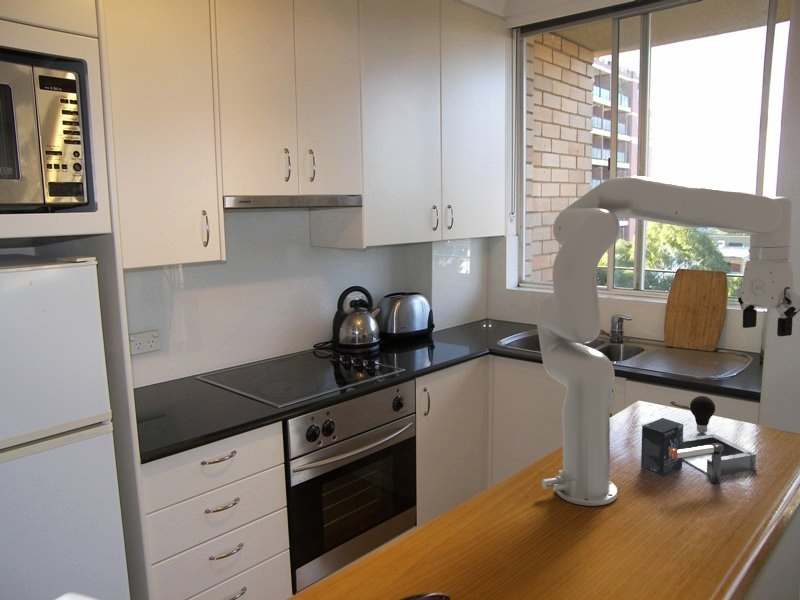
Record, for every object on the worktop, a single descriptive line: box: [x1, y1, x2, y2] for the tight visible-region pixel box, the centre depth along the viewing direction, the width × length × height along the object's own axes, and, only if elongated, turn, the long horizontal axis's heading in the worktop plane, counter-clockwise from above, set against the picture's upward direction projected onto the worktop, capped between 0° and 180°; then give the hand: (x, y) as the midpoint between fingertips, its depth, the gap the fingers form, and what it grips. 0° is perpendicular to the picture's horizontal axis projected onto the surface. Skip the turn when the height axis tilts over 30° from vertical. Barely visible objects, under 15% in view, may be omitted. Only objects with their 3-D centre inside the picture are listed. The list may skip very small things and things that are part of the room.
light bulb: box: [689, 395, 716, 435], centre depth 160 cm, size 6×6×10 cm
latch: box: [669, 443, 724, 459], centre depth 131 cm, size 13×3×2 cm, turn 103°
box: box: [640, 417, 684, 477], centre depth 141 cm, size 8×6×11 cm
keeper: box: [682, 433, 757, 485], centre depth 141 cm, size 13×16×7 cm
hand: (766, 331), depth 137 cm, fingers open, 9 cm apart
